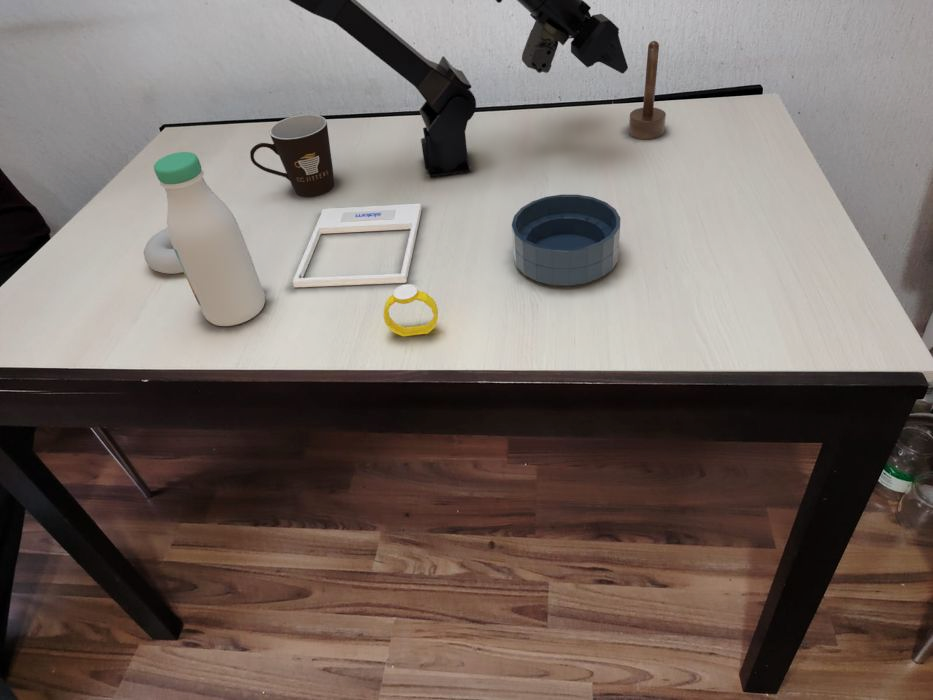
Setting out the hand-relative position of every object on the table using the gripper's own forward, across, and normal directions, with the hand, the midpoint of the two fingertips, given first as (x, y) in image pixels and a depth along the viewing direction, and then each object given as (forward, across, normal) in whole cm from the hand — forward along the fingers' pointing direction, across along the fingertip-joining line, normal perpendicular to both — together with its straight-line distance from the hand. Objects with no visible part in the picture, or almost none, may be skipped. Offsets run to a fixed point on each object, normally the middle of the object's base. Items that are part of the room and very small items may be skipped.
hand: (613, 60), depth 101 cm
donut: (-39, +13, -56) cm, 70 cm away
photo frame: (-22, +19, -39) cm, 48 cm away
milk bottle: (-34, +27, -51) cm, 67 cm away
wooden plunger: (+13, +1, -4) cm, 13 cm away
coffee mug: (-27, -2, -44) cm, 52 cm away
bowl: (-4, +31, -21) cm, 38 cm away
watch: (-19, +39, -36) cm, 56 cm away
